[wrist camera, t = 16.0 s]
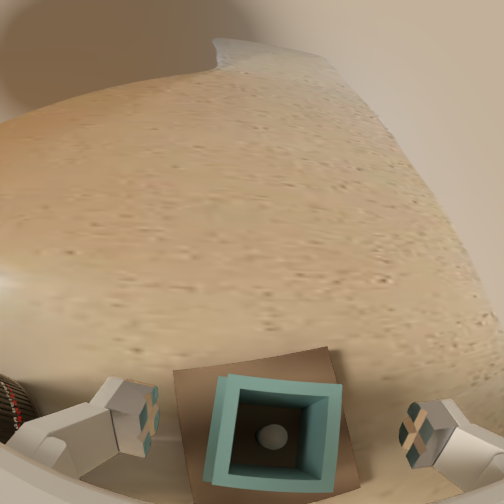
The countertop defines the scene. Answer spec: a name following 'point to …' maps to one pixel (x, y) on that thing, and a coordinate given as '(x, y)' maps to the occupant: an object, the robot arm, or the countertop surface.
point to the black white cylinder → (14, 408)
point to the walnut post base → (257, 428)
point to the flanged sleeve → (309, 442)
